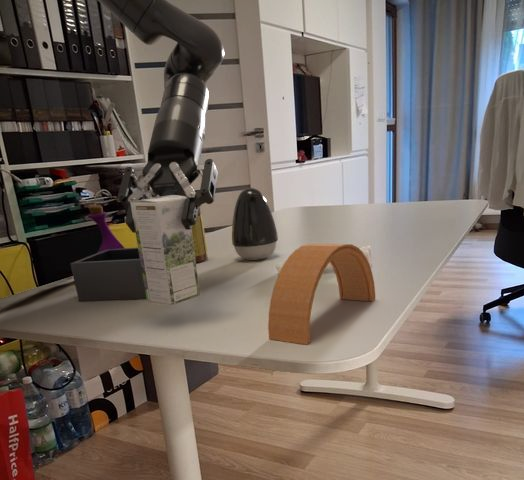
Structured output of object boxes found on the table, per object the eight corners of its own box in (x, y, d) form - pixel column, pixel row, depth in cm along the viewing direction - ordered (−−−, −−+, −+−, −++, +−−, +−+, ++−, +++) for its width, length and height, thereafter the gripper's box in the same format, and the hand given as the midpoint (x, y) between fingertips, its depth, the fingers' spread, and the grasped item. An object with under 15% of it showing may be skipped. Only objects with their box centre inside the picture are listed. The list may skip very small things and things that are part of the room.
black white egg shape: (238, 265, 112) (229, 191, 106) (231, 257, 121) (223, 189, 116) (284, 258, 113) (278, 186, 108) (273, 251, 123) (267, 184, 118)
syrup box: (175, 292, 81) (160, 195, 76) (202, 295, 77) (187, 194, 72) (146, 301, 77) (128, 200, 72) (172, 306, 73) (155, 199, 68)
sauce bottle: (191, 258, 125) (178, 171, 118) (213, 258, 123) (201, 169, 115) (175, 264, 120) (161, 173, 113) (198, 264, 117) (185, 171, 110)
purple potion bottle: (101, 278, 113) (83, 192, 107) (97, 272, 120) (79, 191, 114) (136, 272, 116) (120, 188, 110) (129, 266, 123) (114, 187, 116)
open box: (78, 301, 96) (69, 263, 93) (113, 283, 107) (106, 249, 105) (148, 298, 92) (141, 259, 90) (176, 280, 104) (170, 245, 101)
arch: (376, 299, 78) (375, 231, 74) (306, 344, 63) (300, 263, 59) (341, 296, 81) (338, 231, 77) (267, 338, 66) (259, 261, 63)
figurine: (375, 258, 104) (289, 271, 110) (372, 232, 102) (284, 247, 108) (368, 281, 88) (268, 296, 94) (363, 251, 87) (262, 268, 93)
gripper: (123, 123, 77) (99, 214, 70) (215, 111, 73) (198, 206, 67) (145, 159, 83) (124, 246, 77) (230, 151, 80) (216, 240, 73)
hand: (159, 227), depth 72 cm, fingers closed on syrup box, 7 cm apart
